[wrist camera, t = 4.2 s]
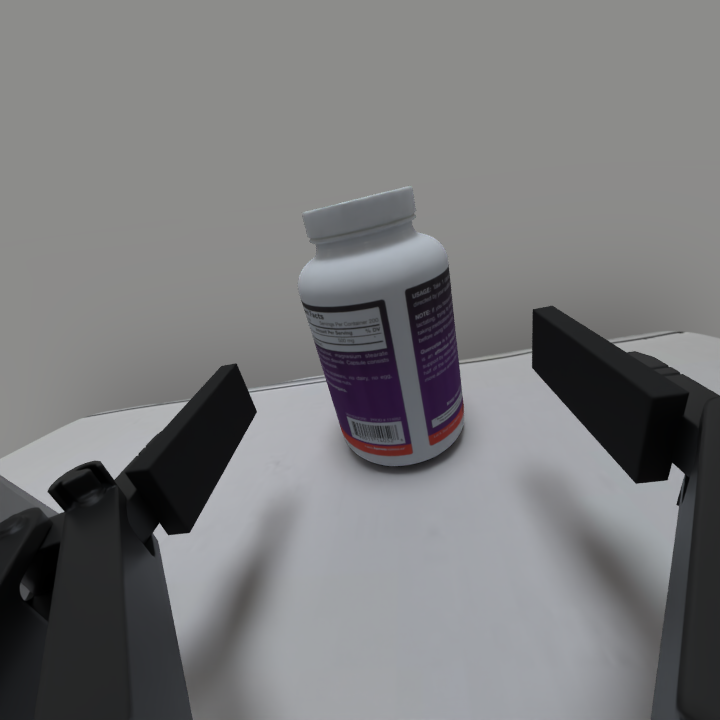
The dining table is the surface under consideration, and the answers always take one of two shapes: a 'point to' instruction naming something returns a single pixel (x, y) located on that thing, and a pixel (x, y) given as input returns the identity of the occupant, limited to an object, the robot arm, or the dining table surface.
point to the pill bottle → (384, 328)
